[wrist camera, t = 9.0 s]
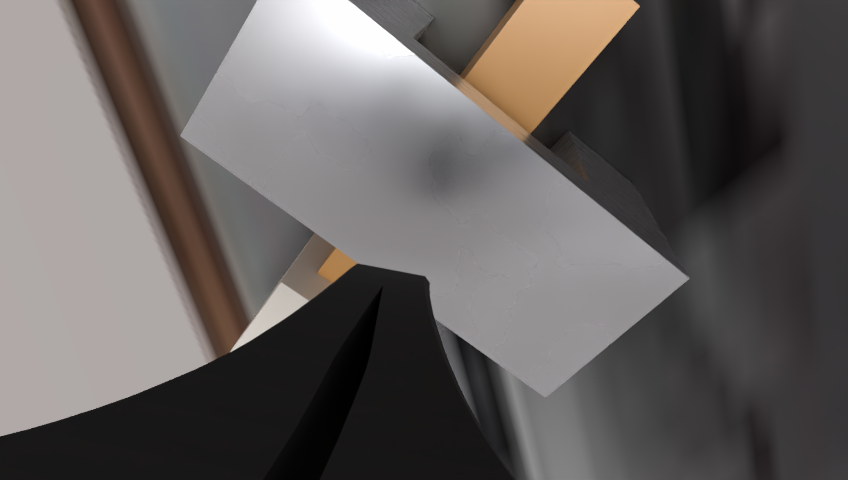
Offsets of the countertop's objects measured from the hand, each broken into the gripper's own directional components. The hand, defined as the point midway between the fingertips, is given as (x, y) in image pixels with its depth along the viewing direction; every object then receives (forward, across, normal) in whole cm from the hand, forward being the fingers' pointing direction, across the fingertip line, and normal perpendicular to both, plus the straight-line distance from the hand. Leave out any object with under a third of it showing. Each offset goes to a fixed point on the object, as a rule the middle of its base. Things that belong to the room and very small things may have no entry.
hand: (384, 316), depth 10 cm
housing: (+10, 0, 0) cm, 11 cm away
